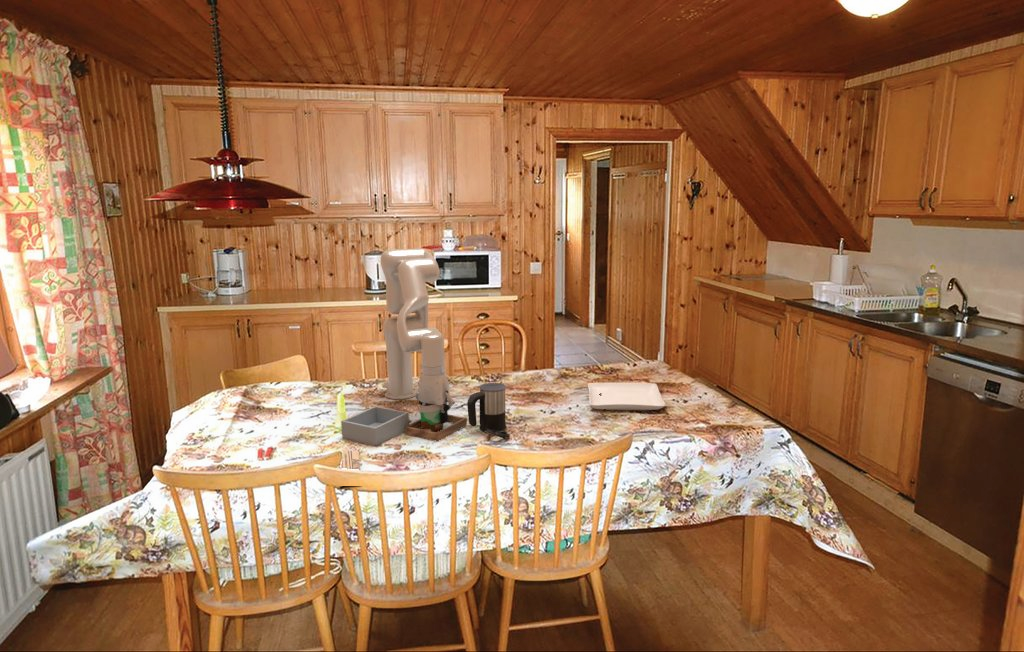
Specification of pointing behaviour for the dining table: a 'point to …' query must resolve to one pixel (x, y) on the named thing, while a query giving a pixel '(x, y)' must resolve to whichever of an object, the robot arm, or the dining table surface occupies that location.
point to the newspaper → (351, 460)
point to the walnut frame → (414, 431)
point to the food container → (430, 417)
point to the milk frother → (489, 409)
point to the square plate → (625, 396)
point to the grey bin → (375, 425)
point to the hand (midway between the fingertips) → (435, 420)
